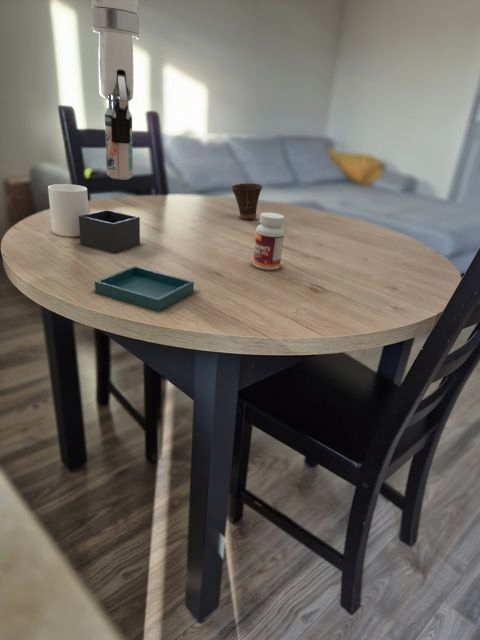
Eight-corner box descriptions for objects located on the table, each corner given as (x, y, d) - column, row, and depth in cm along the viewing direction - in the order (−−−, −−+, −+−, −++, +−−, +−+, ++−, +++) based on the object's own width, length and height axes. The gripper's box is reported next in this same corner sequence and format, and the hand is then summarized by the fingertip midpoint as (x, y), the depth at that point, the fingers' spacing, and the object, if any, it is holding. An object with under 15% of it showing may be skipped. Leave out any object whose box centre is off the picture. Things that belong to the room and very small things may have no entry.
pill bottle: (247, 265, 107) (252, 213, 101) (262, 259, 111) (267, 210, 106) (270, 272, 104) (276, 220, 99) (284, 266, 109) (291, 216, 103)
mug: (45, 224, 117) (40, 180, 113) (80, 223, 122) (77, 181, 117) (56, 238, 109) (52, 191, 104) (94, 236, 113) (91, 191, 108)
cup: (223, 215, 147) (226, 181, 142) (246, 214, 152) (249, 181, 148) (241, 222, 141) (244, 187, 136) (264, 220, 147) (268, 186, 142)
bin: (80, 244, 107) (78, 215, 104) (108, 236, 114) (107, 209, 112) (113, 253, 104) (112, 224, 101) (140, 244, 112) (139, 217, 109)
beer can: (104, 175, 94) (101, 106, 88) (128, 175, 96) (127, 109, 90) (110, 180, 90) (108, 108, 84) (135, 180, 92) (135, 111, 87)
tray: (95, 292, 84) (94, 281, 83) (135, 275, 93) (134, 265, 92) (158, 311, 80) (158, 300, 79) (193, 291, 89) (194, 281, 88)
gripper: (88, 24, 87) (93, 134, 95) (97, 16, 73) (102, 145, 82) (130, 31, 90) (132, 137, 98) (147, 25, 76) (147, 148, 85)
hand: (118, 140), depth 90 cm, fingers closed on beer can, 4 cm apart
